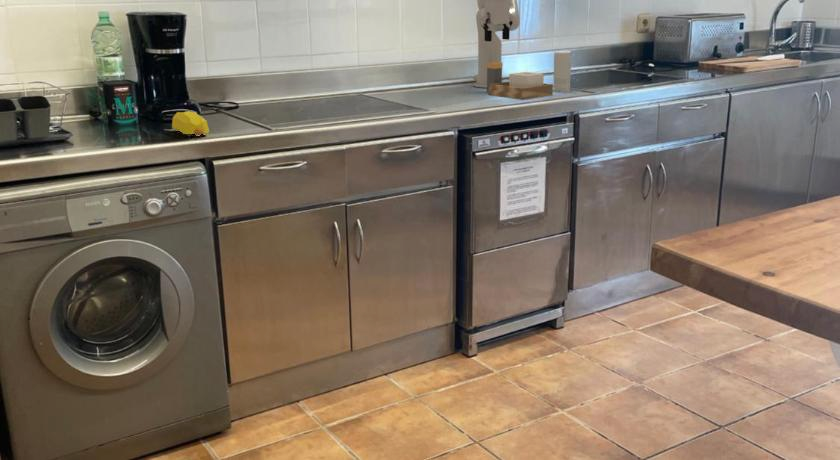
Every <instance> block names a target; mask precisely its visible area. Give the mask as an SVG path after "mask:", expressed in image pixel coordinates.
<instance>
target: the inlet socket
mask: <svg viewBox="0 0 840 460" xmlns="http://www.w3.org/2000/svg"><path fill="white" fill-rule="evenodd" d="M544 77H545V76H544V73H541V72H533V71H532V72H531V71H522V72H514V73H509V77H508V78H509V86H511V87H519V88H527V87H534V86H541V85H543V83H544Z"/></svg>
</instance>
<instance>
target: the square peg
mask: <svg viewBox="0 0 840 460" xmlns="http://www.w3.org/2000/svg"><path fill="white" fill-rule="evenodd" d="M502 80H503V62H502V61H501V62H488V63H487V88H486V93H487V94H489V84H493V83H501V82H503V81H502Z"/></svg>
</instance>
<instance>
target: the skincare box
mask: <svg viewBox="0 0 840 460" xmlns="http://www.w3.org/2000/svg"><path fill="white" fill-rule="evenodd" d="M553 54H554V55H553V56H554V57H553V93H570V92H571V77H572V74H571V73H572V71H571V70H572V51H571V50H558V51H557V50H556V51H554V53H553Z"/></svg>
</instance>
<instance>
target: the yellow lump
mask: <svg viewBox="0 0 840 460" xmlns="http://www.w3.org/2000/svg"><path fill="white" fill-rule="evenodd" d="M171 129H172V130H174V129H176V130H178V131H180V132H182V133H183V134H182V133H181V134H182V135H184V134H196V135H200V134H203V133H207V134H208V133H209V132H210V129H209V125H208V121H207V120H206V119H205V118H204V117H203V116H201V115H199V114H198V113H196V112H194V111H189V110H187V111H184V112H183V111H181V112H180V111H177V112H176V113H175V114H174V116H172V123H171Z"/></svg>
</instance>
